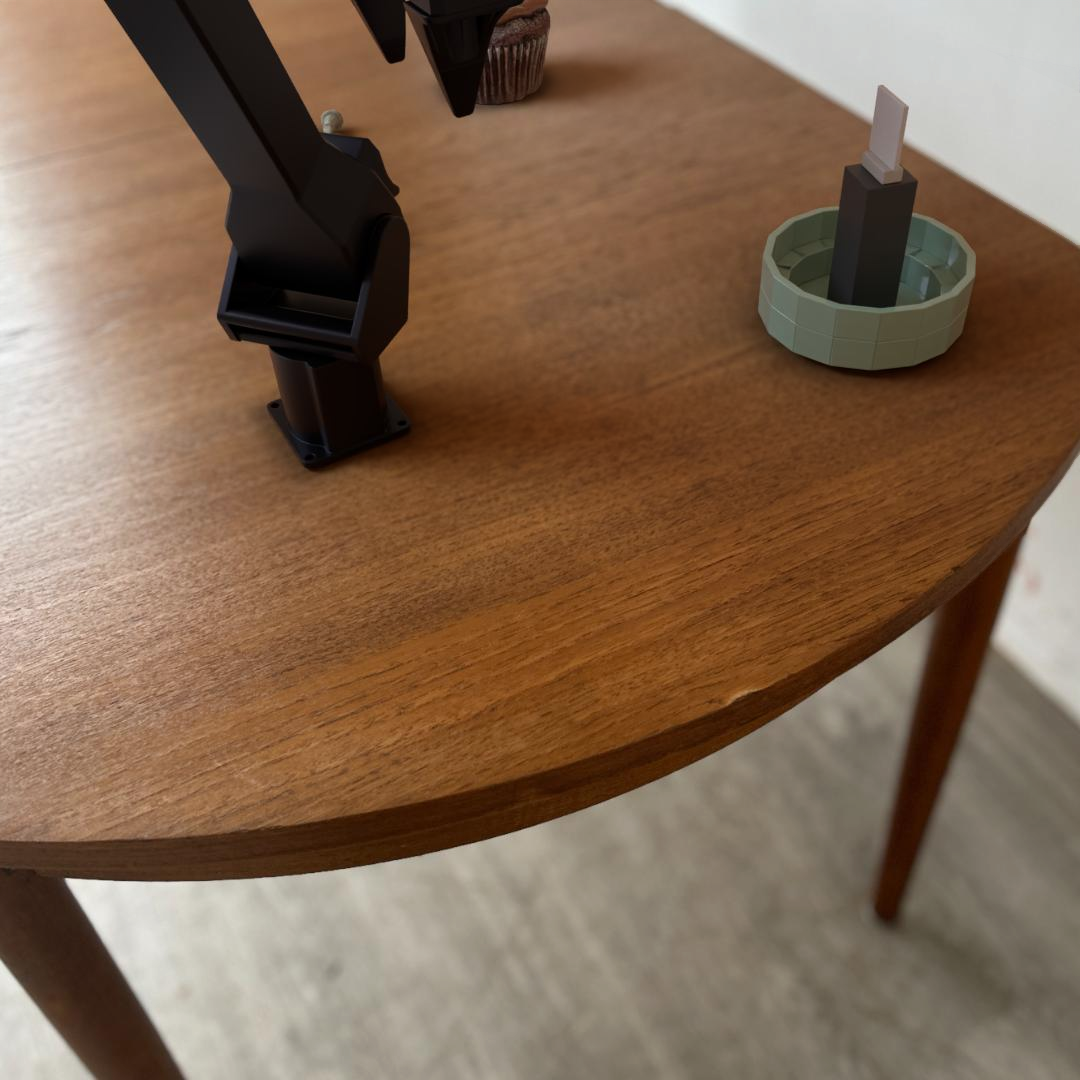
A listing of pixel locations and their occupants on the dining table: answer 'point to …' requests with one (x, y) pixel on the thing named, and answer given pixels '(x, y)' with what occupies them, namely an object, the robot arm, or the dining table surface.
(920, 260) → the bowl
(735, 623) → the dining table surface
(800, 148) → the dining table surface
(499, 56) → the cupcake
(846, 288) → the scraper
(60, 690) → the dining table surface
